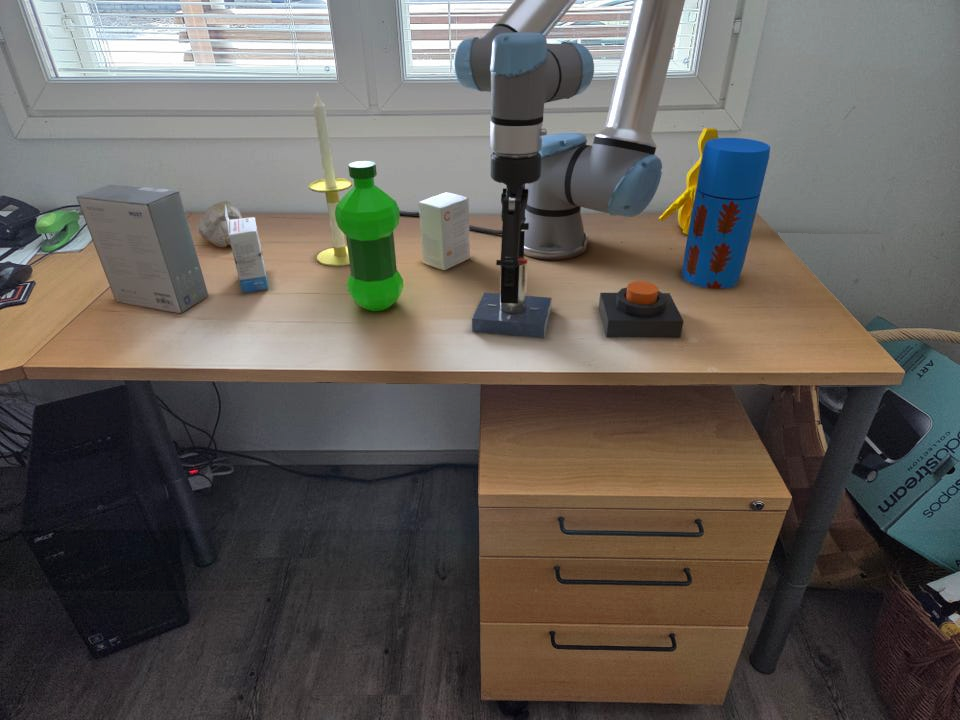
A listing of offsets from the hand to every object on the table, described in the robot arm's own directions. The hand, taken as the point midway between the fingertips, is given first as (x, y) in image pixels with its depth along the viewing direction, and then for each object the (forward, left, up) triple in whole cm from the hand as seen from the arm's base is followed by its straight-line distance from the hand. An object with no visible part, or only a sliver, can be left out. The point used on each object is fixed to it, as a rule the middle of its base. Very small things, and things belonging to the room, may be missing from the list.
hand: (512, 284), depth 101 cm
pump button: (+14, +16, -2) cm, 22 cm away
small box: (-28, +6, -7) cm, 30 cm away
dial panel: (0, 0, -7) cm, 7 cm away
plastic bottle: (-20, -15, -7) cm, 26 cm away
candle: (-44, -10, -7) cm, 46 cm away
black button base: (+14, +16, -7) cm, 23 cm away
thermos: (+11, +41, -7) cm, 43 cm away
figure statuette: (-6, +60, -7) cm, 61 cm away
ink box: (-43, -29, -7) cm, 52 cm away
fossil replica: (-68, -26, -7) cm, 73 cm away
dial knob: (0, 0, -4) cm, 4 cm away
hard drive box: (-47, -45, -7) cm, 65 cm away
